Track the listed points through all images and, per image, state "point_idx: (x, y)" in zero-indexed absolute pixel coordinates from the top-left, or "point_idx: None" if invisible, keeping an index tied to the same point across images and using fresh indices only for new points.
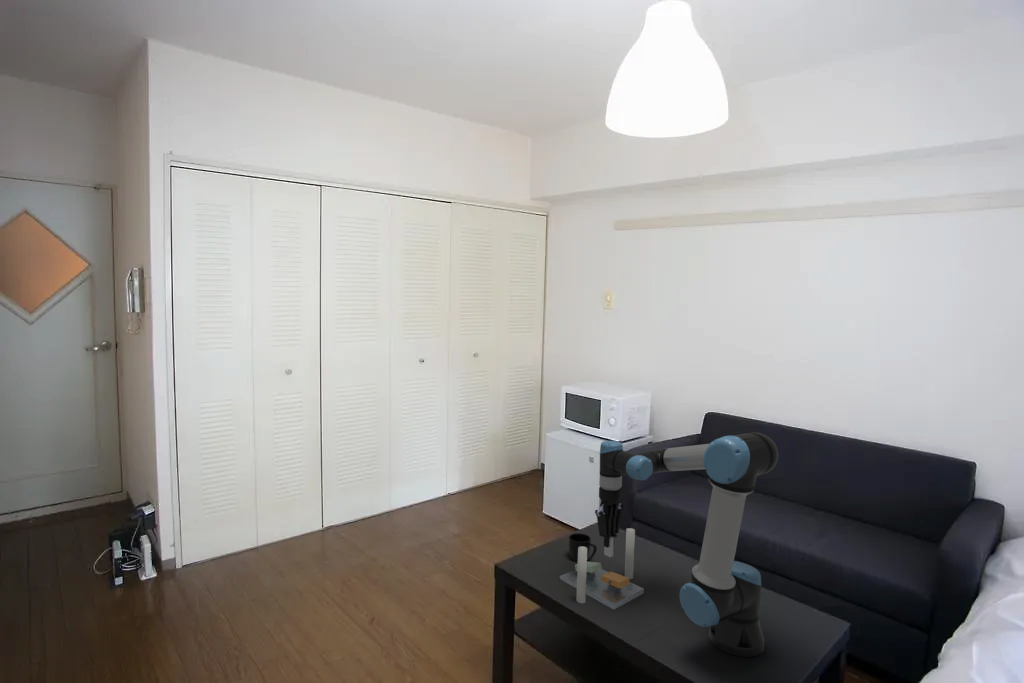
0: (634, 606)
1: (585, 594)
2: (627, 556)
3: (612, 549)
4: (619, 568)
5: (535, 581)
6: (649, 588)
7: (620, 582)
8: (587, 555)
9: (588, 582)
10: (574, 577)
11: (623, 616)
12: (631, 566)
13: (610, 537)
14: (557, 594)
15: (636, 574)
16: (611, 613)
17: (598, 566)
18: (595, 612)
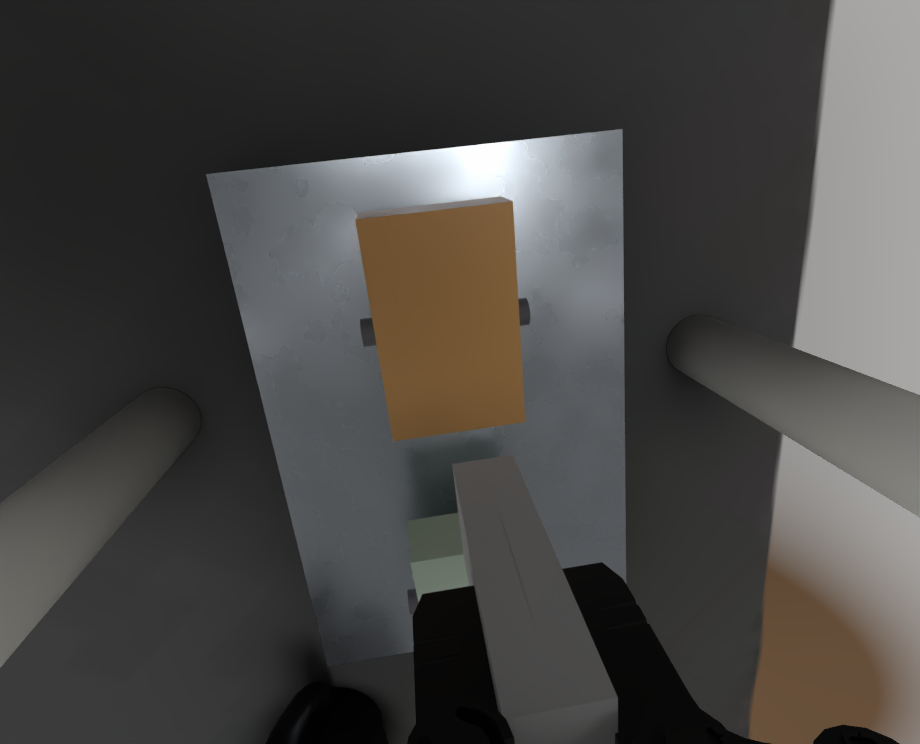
0: (430, 76)
1: (718, 332)
2: (97, 518)
3: (486, 521)
4: (125, 563)
5: (718, 639)
6: (102, 221)
7: (502, 202)
8: (301, 740)
9: (537, 471)
10: (565, 562)
11: (615, 14)
12: (111, 438)
13: (574, 740)
14: (736, 479)
15: (53, 442)
16: (652, 106)
17: (447, 538)
18: (727, 185)
